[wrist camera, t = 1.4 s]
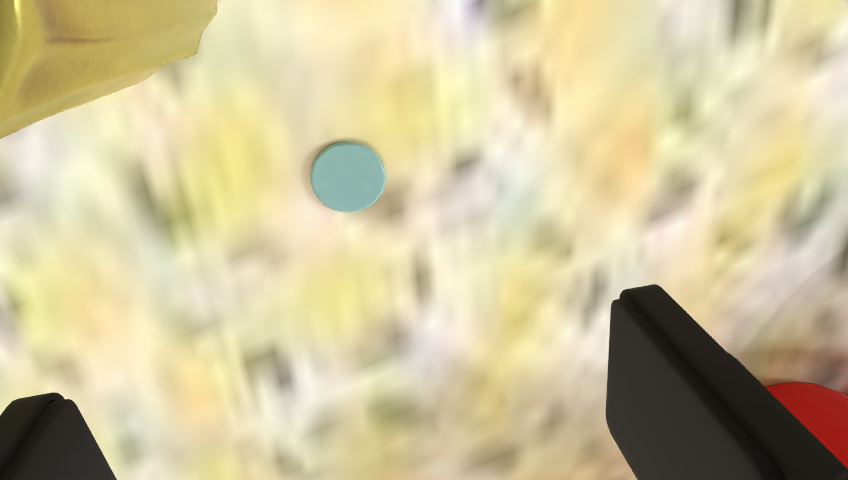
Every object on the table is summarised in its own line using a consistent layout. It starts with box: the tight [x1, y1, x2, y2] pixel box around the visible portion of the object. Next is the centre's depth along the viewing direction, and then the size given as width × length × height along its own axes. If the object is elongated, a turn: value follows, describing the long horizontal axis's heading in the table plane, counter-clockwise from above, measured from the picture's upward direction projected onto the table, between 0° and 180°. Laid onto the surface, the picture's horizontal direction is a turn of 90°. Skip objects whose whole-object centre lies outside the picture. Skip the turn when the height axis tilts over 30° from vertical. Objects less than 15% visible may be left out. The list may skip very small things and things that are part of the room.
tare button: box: [311, 142, 385, 212], centre depth 20 cm, size 3×3×1 cm
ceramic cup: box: [765, 382, 848, 468], centre depth 28 cm, size 13×17×10 cm
